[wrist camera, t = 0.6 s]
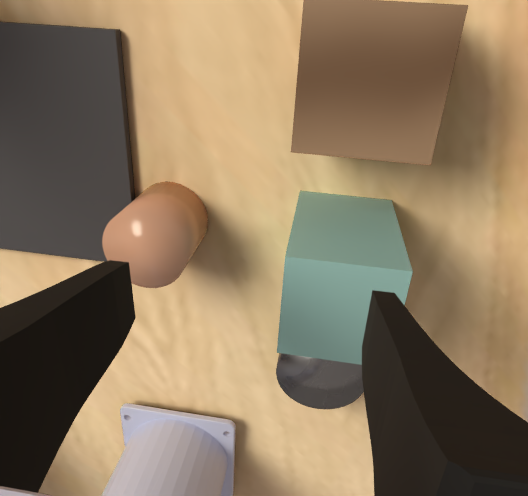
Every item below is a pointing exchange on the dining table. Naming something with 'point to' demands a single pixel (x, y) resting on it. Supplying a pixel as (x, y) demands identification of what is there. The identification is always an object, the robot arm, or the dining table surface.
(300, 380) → the metal puck
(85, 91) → the black mat
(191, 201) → the peach domed capsule
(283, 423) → the dining table surface
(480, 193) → the dining table surface
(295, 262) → the teal block
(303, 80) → the walnut block
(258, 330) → the dining table surface
